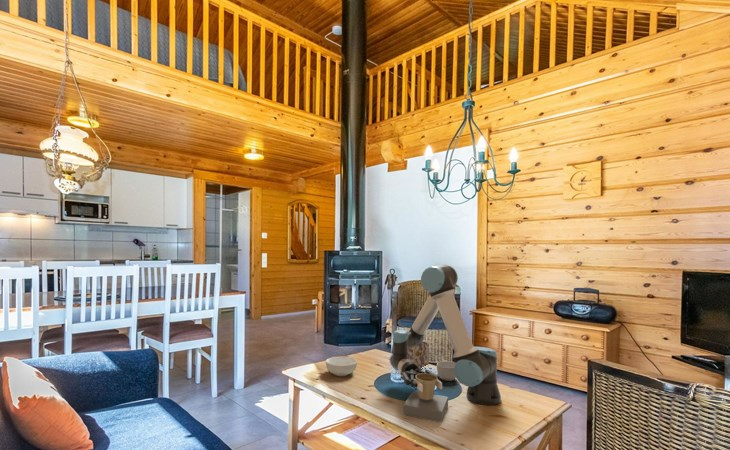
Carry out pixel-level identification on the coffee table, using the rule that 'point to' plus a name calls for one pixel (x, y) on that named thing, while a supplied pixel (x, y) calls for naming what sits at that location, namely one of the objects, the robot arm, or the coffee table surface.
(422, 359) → the decorative jar
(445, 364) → the teacup
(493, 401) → the robot arm
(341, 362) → the cereal bowl
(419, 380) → the flower pot
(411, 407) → the plinth
